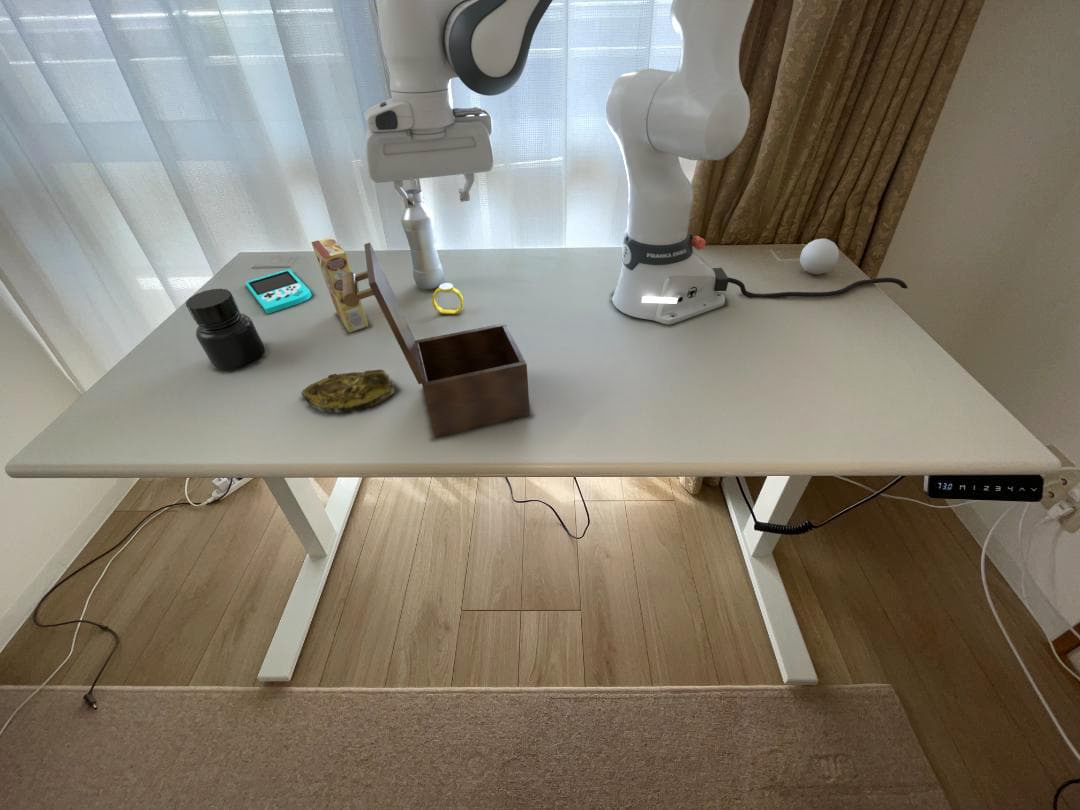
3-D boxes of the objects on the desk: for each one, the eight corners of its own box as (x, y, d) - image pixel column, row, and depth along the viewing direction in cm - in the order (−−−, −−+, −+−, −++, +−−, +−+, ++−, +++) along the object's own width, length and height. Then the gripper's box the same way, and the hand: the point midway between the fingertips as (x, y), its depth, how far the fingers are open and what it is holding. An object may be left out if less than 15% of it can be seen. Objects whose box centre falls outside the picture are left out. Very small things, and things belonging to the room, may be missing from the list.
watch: (434, 316, 98) (428, 289, 94) (436, 309, 100) (431, 282, 96) (463, 316, 98) (459, 289, 94) (465, 309, 100) (461, 282, 96)
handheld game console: (266, 314, 100) (263, 308, 99) (245, 286, 110) (243, 281, 109) (314, 298, 105) (312, 292, 104) (290, 273, 114) (288, 267, 114)
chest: (510, 372, 83) (505, 322, 77) (529, 415, 75) (526, 364, 69) (424, 390, 80) (412, 340, 74) (434, 438, 72) (422, 386, 65)
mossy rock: (298, 422, 77) (395, 411, 78) (286, 402, 73) (387, 391, 74) (309, 381, 83) (398, 371, 84) (298, 360, 80) (391, 350, 81)
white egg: (838, 279, 104) (851, 246, 100) (803, 280, 105) (815, 247, 100) (817, 259, 112) (829, 227, 107) (785, 260, 112) (795, 228, 107)
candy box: (369, 326, 96) (347, 251, 86) (348, 333, 94) (322, 258, 84) (355, 308, 101) (333, 235, 91) (335, 314, 100) (309, 241, 89)
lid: (370, 242, 63) (333, 254, 63) (375, 281, 55) (333, 295, 54) (414, 337, 74) (383, 348, 73) (424, 382, 65) (390, 395, 65)
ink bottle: (257, 337, 94) (229, 279, 86) (276, 355, 89) (248, 296, 81) (203, 358, 89) (168, 300, 81) (220, 379, 84) (184, 319, 76)
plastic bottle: (451, 282, 108) (436, 188, 95) (431, 296, 104) (412, 199, 91) (430, 276, 111) (412, 184, 98) (409, 288, 107) (387, 194, 94)
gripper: (486, 102, 79) (493, 191, 88) (355, 111, 75) (376, 204, 84) (495, 109, 74) (501, 202, 83) (355, 119, 70) (378, 216, 79)
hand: (437, 203), depth 84 cm, fingers open, 8 cm apart
